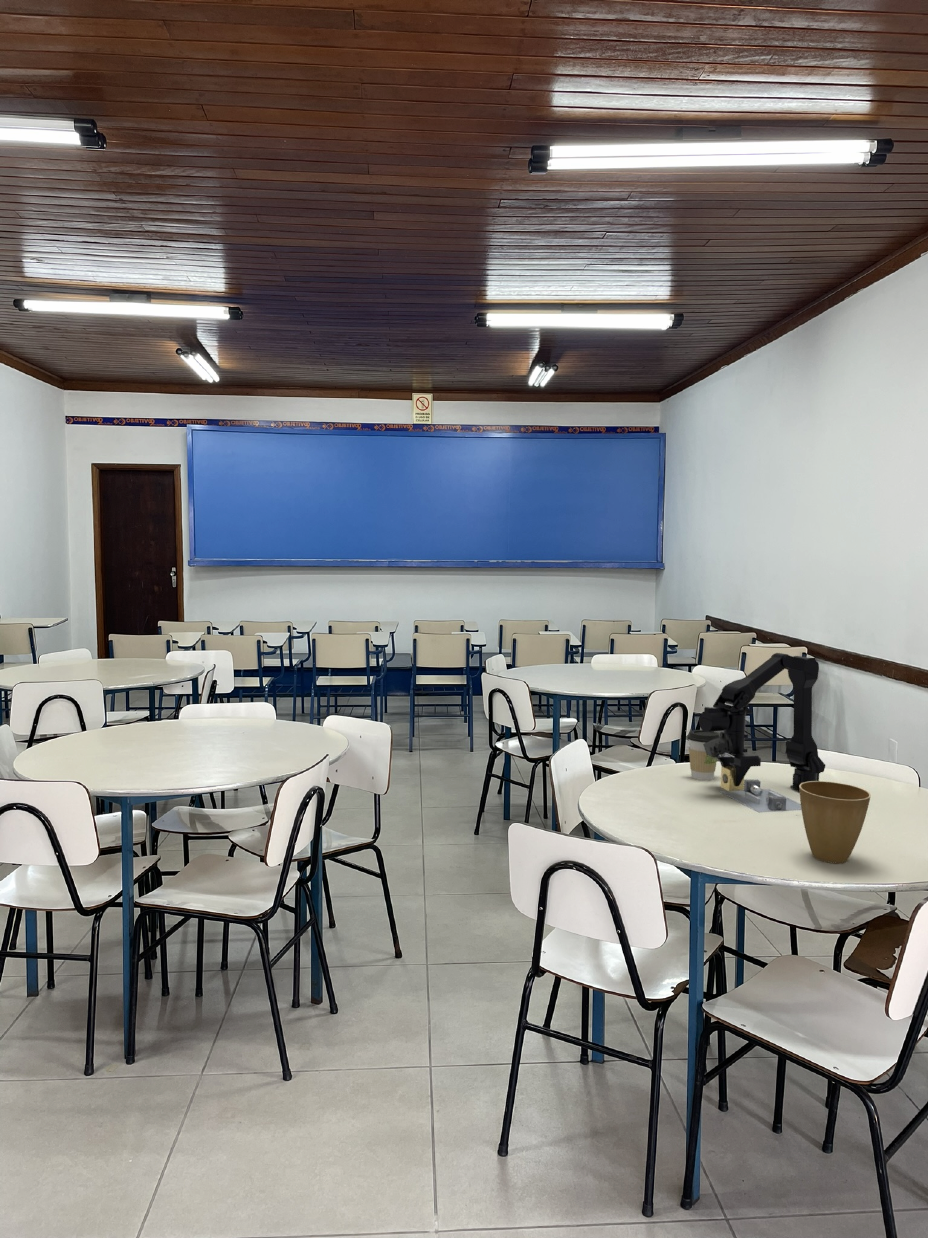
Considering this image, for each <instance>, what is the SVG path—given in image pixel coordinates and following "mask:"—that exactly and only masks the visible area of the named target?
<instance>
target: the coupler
mask: <svg viewBox="0 0 928 1238" xmlns="http://www.w3.org/2000/svg"><path fill="white" fill-rule="evenodd" d="M720 771H721V772H720V788H722V789H724V790H725V791H743V790H744V780H745V777H744V778H743V780H742V782H741V783H740V785H739V786H735V783H734V768H733V767H732V766H721V769H720Z"/></svg>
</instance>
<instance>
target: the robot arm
mask: <svg viewBox="0 0 928 1238" xmlns="http://www.w3.org/2000/svg"><path fill="white" fill-rule="evenodd" d="M784 670H787V674H788V678H789V680H790V682H791V684H792V686H793V734H792V736H791V738H790V739H789V740H786V741H785V751H784V754H786V757H787V760H788V761H789V766H790V768H794V770H793V771H794V772H793V774H792V785H790V786H789V787H790V788H791V789H794V790H796V791H797V792H800V791H799V785H800V784H801V783H804V782H809V781H820V774H821V773H824V772H825V768H826V764H825V762H824V761H823V760H822V759H821V758H820V756H819V752H818V745H817V744H816V741H815V740H814V738H813V734H812V730H813V729H812V726H813V725H812V724H813V723H812V722H813V719H812V718H813V716H812V715H813V713H812V712H813V711H812V709H813V707H812V706H813V687H814V685H815V684H816V682H817V680H818V678H819V672H820V671H819V670H820V664H819V661H817V660H816V658H813V657H808V656H799V655H793V656H792V655H789V654H787V653H782V652H781V653H780V652H776V653H772V655H771V657H770V658H768V659H767V660H765V661H764V662H763V663H762V664H760V665H759V666H758V667H757V668H755V669H754V670H753V671H752V672H750V673H749V674H747V675H746V676H745V677H742V678H740V679H736V680H733V681H731V682H729V683H728V684H727V683H726V684H725V685H724V686H723V687H722V689H721V692H720V694H719V695H718V697H717V699H716V700H715V701H714V703H713V705H712V706H705V707H704V708H703V712H701V713H700V716H699V717H698V725H699V726H700V730H703V731H704V732H712V731H713V732H720V733H719V738H717V739H713V740H711V741H709V742H706V743H704V744H703V745H704V748H705V752H706V755H709V756H711V757H713V758H717V761H718V762H719V763H720V766H721V767H722V766H732V767H733V768H734V783H735V786H739V785H740V783H741V782H742V780H743V778H744V779H745V776H746V775H747V773H748V772H749V770H750V769H751V767H761V766H762V765H761V764H762V763H761V762H762V758H761V757H760V756H759V755H757V754H755V753H752V752H748V748H746V747H745V744H746V743H745V739H748V738H749V734H748V733H746V717H747V716H746V715H748V714H753V711H752V710H751V709H750V708H749V707H748V705H749V704H750V703H751V701H753V699H754V698H755V696H756V693H757V691H759V689H761V688H762V687H763V686H764V685H765V684H767V683H769V681H771V680H772V679H774V678H775V677H776V676H777V675H778V674H780V673H781V672H783V671H784Z"/></svg>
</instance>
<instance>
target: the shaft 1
mask: <svg viewBox="0 0 928 1238" xmlns="http://www.w3.org/2000/svg"><path fill="white" fill-rule="evenodd" d="M744 791H745V792H752V793H754V794H755V795H756V796H760V795H761V794H762V792H763V791H762V788H761V780H759V779H744Z"/></svg>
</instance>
